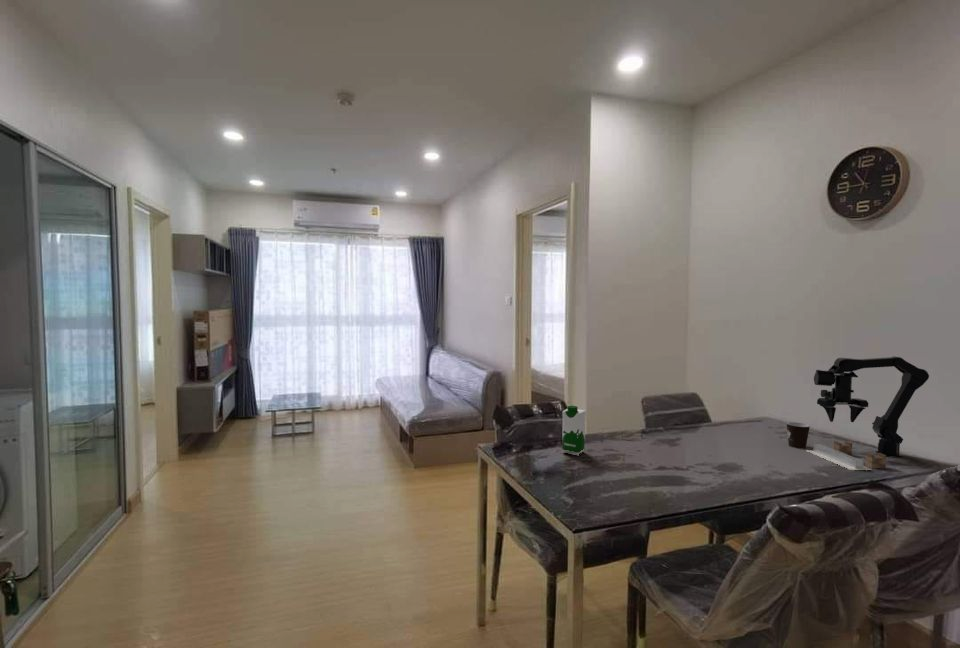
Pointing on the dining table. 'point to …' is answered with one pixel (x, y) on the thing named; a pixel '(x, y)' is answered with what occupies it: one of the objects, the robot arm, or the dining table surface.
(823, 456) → the mat
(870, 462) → the post
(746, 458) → the dining table surface
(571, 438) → the milk carton
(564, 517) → the dining table surface
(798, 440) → the coffee mug
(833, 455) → the rail
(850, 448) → the post
